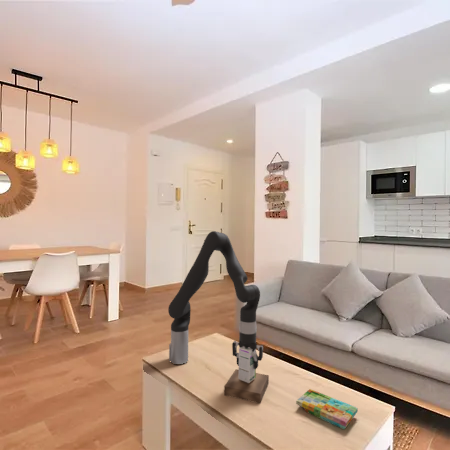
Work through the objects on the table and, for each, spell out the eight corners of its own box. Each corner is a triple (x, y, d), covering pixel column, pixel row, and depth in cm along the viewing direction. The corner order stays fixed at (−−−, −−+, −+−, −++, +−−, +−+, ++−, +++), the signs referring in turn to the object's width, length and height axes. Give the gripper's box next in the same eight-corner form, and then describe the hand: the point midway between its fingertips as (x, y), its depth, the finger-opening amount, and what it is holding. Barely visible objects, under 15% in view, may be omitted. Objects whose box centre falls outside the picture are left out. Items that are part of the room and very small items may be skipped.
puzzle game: (346, 420, 111) (296, 398, 124) (346, 433, 111) (296, 410, 124) (357, 406, 119) (309, 386, 133) (357, 418, 120) (309, 397, 133)
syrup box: (249, 383, 134) (250, 350, 134) (237, 379, 137) (238, 347, 137) (255, 378, 139) (256, 346, 138) (244, 373, 142) (245, 342, 142)
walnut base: (224, 395, 133) (224, 386, 133) (235, 377, 148) (235, 369, 148) (260, 403, 128) (260, 393, 128) (268, 383, 143) (268, 375, 143)
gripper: (229, 330, 136) (229, 367, 137) (261, 335, 131) (261, 373, 132) (235, 325, 143) (234, 360, 144) (265, 329, 138) (264, 366, 139)
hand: (247, 366), depth 138 cm, fingers open, 7 cm apart
